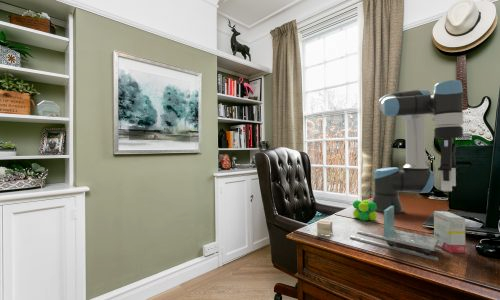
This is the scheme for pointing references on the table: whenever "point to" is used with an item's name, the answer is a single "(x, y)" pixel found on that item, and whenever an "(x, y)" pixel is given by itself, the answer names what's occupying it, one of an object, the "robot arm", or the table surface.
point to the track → (394, 246)
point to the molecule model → (364, 210)
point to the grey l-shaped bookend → (406, 235)
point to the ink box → (449, 231)
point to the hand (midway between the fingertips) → (448, 188)
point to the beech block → (324, 227)
